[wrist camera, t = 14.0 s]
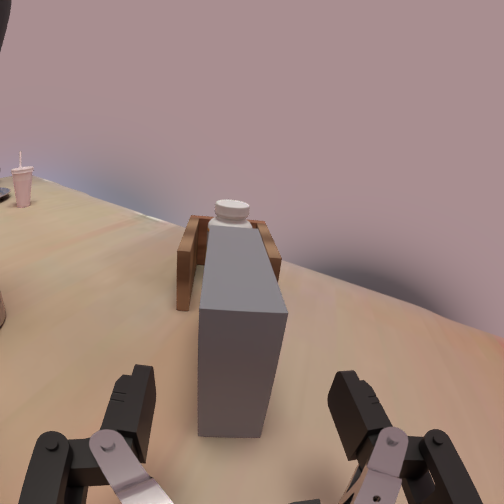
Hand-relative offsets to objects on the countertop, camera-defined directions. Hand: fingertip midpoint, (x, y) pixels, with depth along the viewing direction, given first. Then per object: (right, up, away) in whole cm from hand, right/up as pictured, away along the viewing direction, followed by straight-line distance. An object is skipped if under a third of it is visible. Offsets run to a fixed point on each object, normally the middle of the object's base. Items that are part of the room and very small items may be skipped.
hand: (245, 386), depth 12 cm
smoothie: (-57, +17, +49) cm, 77 cm away
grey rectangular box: (-2, -4, +11) cm, 12 cm away
